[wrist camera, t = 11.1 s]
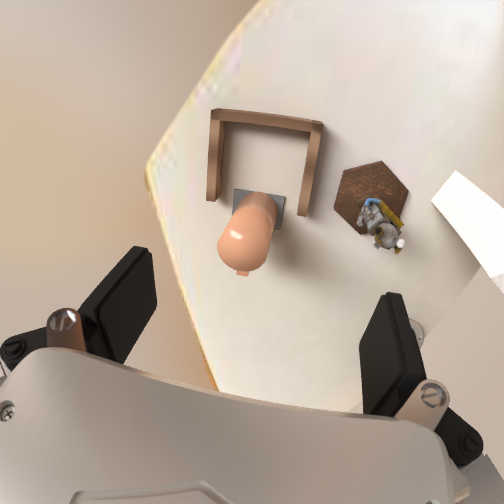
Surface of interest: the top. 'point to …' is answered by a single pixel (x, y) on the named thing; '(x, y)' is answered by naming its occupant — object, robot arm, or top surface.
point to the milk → (475, 223)
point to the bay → (263, 119)
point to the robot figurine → (373, 203)
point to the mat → (278, 199)
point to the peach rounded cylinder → (248, 233)
